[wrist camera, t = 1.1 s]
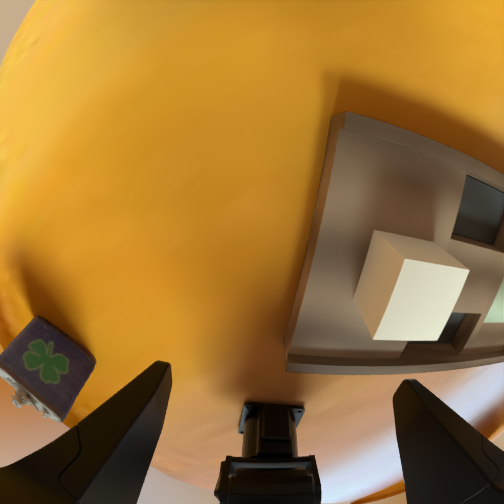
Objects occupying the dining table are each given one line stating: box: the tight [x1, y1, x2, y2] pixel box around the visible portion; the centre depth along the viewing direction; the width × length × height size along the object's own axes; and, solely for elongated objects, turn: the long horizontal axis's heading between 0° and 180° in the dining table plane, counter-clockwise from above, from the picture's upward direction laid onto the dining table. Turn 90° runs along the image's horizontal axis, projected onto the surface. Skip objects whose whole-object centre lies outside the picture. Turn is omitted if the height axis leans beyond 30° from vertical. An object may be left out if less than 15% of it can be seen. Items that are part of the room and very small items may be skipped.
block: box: [353, 230, 469, 341], centre depth 15 cm, size 5×5×4 cm
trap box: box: [283, 111, 504, 375], centre depth 18 cm, size 18×28×4 cm, turn 82°
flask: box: [0, 316, 96, 422], centre depth 20 cm, size 9×3×11 cm, turn 55°
